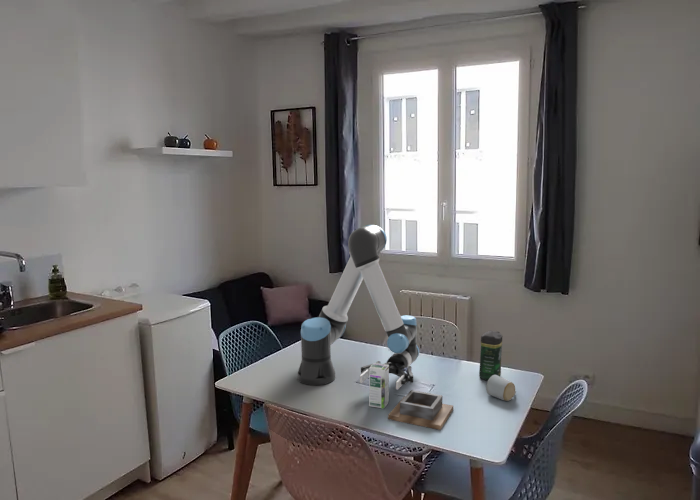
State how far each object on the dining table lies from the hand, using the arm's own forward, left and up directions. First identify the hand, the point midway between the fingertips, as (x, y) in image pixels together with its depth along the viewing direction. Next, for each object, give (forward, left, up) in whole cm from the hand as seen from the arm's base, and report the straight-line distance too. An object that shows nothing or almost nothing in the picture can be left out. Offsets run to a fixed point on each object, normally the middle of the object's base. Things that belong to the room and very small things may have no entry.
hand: (378, 382), depth 186 cm
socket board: (+16, +1, -9) cm, 18 cm away
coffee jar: (+31, +44, -9) cm, 54 cm away
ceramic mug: (+38, +27, -9) cm, 48 cm away
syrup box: (0, +2, -9) cm, 9 cm away
